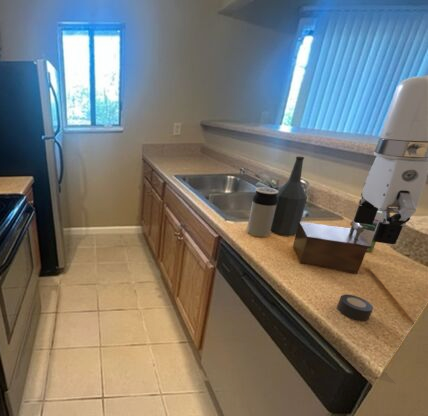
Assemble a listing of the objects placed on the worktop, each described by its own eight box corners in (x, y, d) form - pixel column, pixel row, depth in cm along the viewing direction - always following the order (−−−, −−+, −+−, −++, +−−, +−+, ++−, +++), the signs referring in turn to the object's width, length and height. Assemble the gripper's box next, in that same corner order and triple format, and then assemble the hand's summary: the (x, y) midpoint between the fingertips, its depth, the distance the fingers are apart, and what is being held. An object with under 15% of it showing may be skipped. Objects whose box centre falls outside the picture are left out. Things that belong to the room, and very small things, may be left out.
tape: (363, 307, 69) (367, 298, 68) (373, 324, 64) (378, 314, 63) (333, 301, 71) (337, 291, 70) (341, 316, 66) (345, 306, 65)
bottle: (282, 224, 116) (300, 153, 105) (303, 235, 107) (324, 158, 96) (261, 227, 114) (277, 155, 103) (280, 237, 105) (300, 159, 94)
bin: (343, 254, 93) (351, 230, 90) (357, 274, 82) (367, 248, 79) (292, 246, 99) (298, 223, 96) (299, 263, 88) (306, 239, 85)
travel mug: (268, 239, 103) (279, 194, 97) (245, 234, 107) (254, 191, 101) (269, 231, 110) (279, 188, 103) (247, 227, 114) (255, 185, 107)
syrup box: (350, 246, 98) (363, 209, 92) (352, 241, 101) (365, 204, 96) (371, 252, 94) (387, 213, 88) (373, 247, 97) (388, 209, 92)
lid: (354, 231, 90) (359, 217, 88) (371, 248, 79) (376, 233, 77) (298, 223, 96) (302, 210, 94) (307, 239, 85) (311, 225, 83)
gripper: (466, 159, 42) (421, 255, 48) (405, 144, 57) (376, 219, 63) (402, 156, 45) (367, 247, 51) (359, 142, 60) (336, 214, 66)
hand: (372, 232), depth 57 cm, fingers open, 9 cm apart
